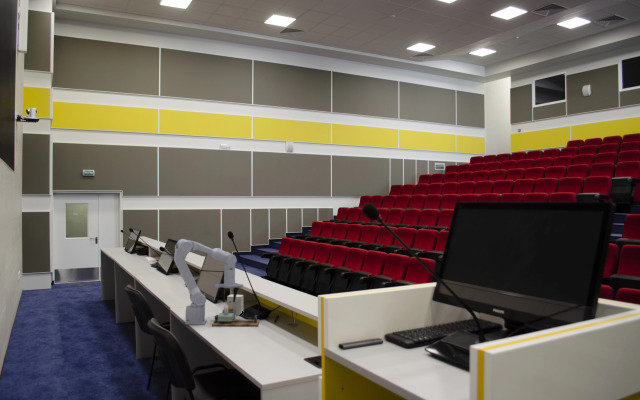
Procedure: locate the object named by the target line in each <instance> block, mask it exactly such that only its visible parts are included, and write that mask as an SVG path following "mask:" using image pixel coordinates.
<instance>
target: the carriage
mask: <svg viewBox="0 0 640 400" xmlns="http://www.w3.org/2000/svg"><path fill="white" fill-rule="evenodd" d="M223 310H224V313H222V312H220V313H219V314H218V321H232V320H233V318H234V313H228V305H227V304H225V305H224V306H223Z"/></svg>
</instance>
